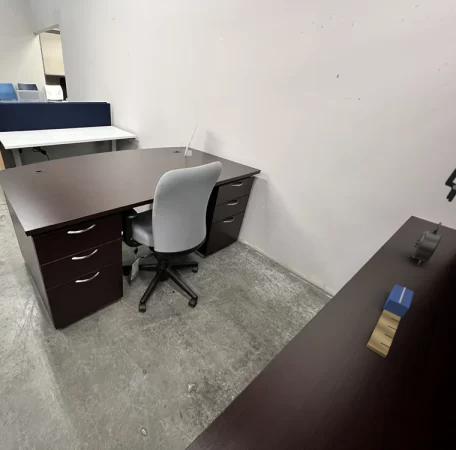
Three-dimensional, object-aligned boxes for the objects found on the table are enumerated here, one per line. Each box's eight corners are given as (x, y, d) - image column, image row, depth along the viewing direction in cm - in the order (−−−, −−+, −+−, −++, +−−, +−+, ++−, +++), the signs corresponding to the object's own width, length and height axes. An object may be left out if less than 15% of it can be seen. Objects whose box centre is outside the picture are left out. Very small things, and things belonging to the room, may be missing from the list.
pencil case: (390, 293, 74) (396, 283, 73) (407, 300, 71) (414, 290, 70) (383, 308, 67) (390, 298, 65) (402, 317, 64) (409, 307, 62)
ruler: (383, 311, 67) (384, 308, 67) (399, 319, 65) (401, 316, 64) (365, 346, 57) (368, 343, 56) (384, 358, 55) (387, 355, 54)
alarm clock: (423, 269, 86) (451, 229, 79) (403, 261, 90) (428, 223, 82) (427, 258, 93) (453, 221, 85) (408, 252, 96) (431, 215, 89)
